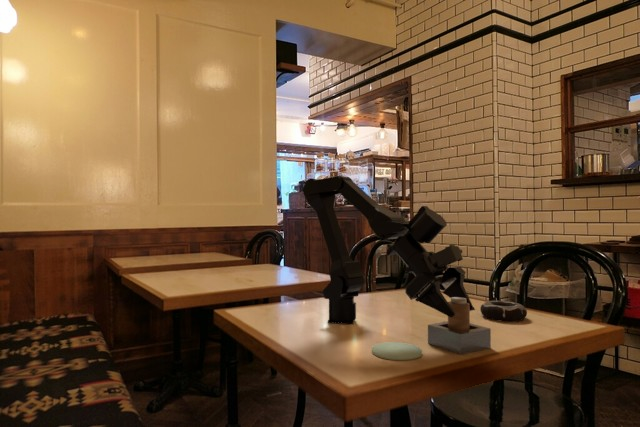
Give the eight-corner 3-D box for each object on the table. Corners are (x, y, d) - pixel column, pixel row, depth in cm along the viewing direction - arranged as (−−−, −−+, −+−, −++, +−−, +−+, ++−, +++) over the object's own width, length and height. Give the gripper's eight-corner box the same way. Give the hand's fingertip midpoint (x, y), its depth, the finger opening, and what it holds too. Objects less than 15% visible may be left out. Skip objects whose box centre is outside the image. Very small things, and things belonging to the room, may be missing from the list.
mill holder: (460, 354, 86) (460, 334, 86) (427, 343, 94) (427, 324, 94) (490, 347, 91) (490, 328, 91) (457, 337, 98) (457, 319, 98)
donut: (472, 317, 119) (472, 303, 119) (493, 311, 126) (493, 297, 127) (514, 325, 110) (514, 310, 110) (534, 318, 118) (534, 304, 118)
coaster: (370, 358, 83) (370, 355, 83) (372, 343, 93) (372, 341, 93) (423, 361, 82) (423, 358, 82) (420, 346, 92) (420, 343, 92)
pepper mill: (449, 348, 90) (449, 300, 91) (446, 342, 95) (446, 296, 95) (471, 349, 90) (471, 300, 90) (467, 343, 94) (467, 296, 94)
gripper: (418, 234, 88) (471, 294, 81) (456, 231, 102) (505, 283, 95) (385, 269, 94) (432, 329, 86) (426, 263, 108) (470, 314, 100)
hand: (462, 312), depth 92 cm, fingers open, 9 cm apart
